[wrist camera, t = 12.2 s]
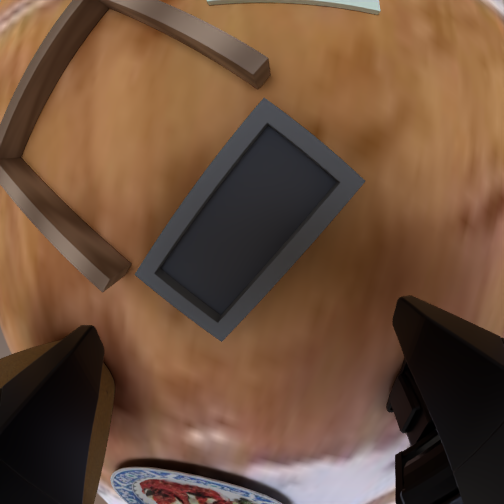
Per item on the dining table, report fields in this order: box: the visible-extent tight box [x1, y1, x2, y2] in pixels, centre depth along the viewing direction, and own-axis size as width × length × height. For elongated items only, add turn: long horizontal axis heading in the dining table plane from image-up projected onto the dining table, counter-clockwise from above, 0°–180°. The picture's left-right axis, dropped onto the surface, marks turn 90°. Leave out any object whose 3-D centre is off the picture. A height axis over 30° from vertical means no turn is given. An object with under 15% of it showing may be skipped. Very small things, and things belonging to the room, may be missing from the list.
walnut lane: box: [0, 0, 271, 292], centre depth 15 cm, size 15×16×3 cm
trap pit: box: [135, 98, 365, 342], centre depth 17 cm, size 7×13×2 cm, turn 142°
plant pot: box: [0, 340, 115, 504], centre depth 16 cm, size 15×15×16 cm
